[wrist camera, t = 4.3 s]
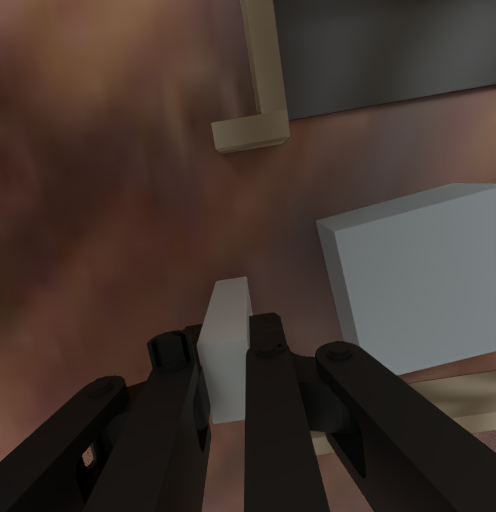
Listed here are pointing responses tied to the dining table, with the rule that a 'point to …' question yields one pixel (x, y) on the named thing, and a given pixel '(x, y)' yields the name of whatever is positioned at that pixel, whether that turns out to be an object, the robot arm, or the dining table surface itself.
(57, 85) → the dining table surface
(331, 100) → the box
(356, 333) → the block
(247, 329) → the robot arm
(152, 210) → the dining table surface
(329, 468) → the dining table surface
